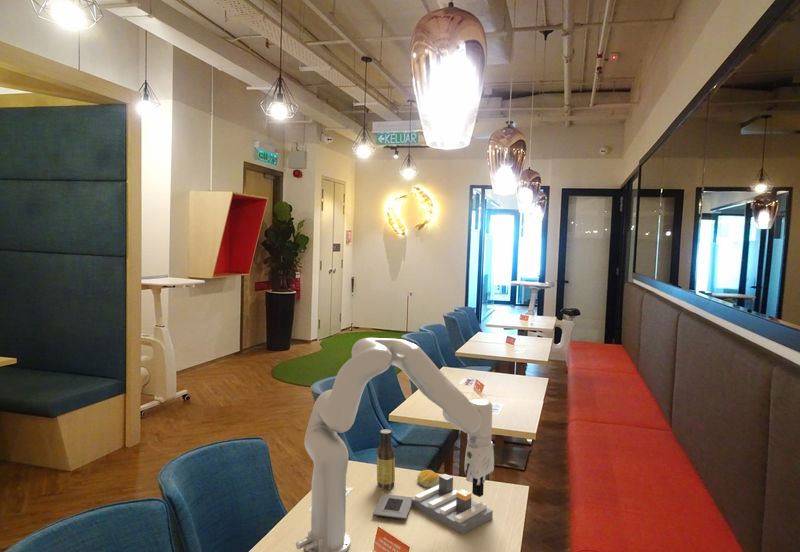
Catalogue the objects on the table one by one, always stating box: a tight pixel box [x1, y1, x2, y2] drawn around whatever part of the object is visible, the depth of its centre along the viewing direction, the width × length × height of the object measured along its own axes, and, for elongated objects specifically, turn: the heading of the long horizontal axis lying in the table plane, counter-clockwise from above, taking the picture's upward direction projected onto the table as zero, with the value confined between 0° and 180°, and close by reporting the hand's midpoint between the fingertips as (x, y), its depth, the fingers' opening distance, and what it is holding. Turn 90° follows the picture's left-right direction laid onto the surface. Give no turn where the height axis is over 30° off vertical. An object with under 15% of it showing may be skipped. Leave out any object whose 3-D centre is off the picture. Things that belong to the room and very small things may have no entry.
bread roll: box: [417, 469, 441, 489], centre depth 189 cm, size 8×9×4 cm
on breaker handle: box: [439, 473, 454, 495], centre depth 175 cm, size 3×4×6 cm
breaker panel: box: [411, 485, 494, 536], centre depth 168 cm, size 14×22×4 cm, turn 43°
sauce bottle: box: [376, 429, 396, 490], centre depth 184 cm, size 6×6×20 cm
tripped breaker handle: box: [456, 488, 472, 512], centre depth 164 cm, size 3×4×6 cm
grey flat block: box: [372, 493, 415, 520], centre depth 169 cm, size 13×10×2 cm
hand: (477, 494), depth 169 cm, fingers closed
